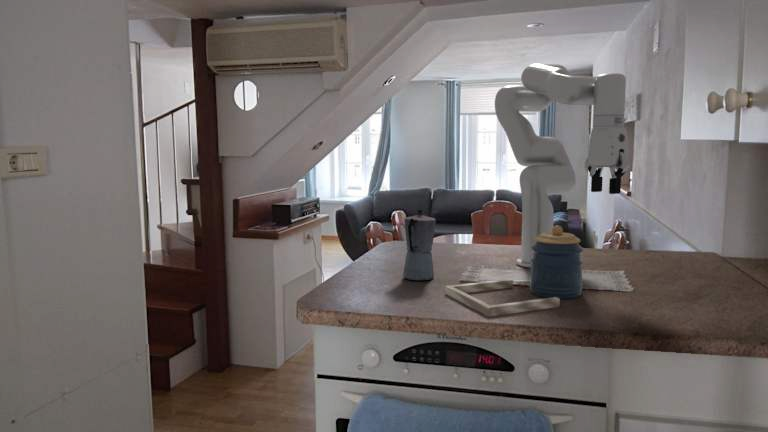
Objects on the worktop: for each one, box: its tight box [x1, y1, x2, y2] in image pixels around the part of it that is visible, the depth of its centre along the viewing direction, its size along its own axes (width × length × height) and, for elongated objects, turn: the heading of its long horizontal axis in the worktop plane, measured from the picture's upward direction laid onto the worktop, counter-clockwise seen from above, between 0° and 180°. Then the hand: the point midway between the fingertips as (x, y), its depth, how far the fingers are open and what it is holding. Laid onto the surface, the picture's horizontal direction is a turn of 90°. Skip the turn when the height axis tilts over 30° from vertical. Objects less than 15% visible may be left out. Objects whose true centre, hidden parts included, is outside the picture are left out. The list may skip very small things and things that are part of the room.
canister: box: [529, 224, 584, 300], centre depth 144 cm, size 13×13×18 cm
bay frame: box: [444, 278, 561, 317], centre depth 139 cm, size 20×21×2 cm
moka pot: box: [402, 209, 437, 281], centre depth 160 cm, size 10×15×20 cm, turn 161°
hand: (605, 192), depth 147 cm, fingers open, 5 cm apart
